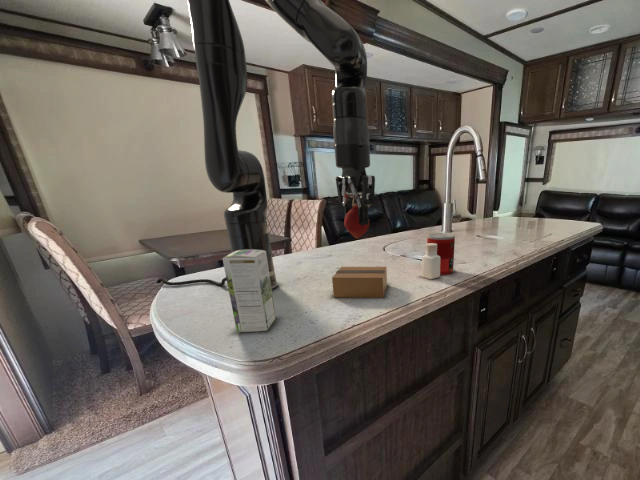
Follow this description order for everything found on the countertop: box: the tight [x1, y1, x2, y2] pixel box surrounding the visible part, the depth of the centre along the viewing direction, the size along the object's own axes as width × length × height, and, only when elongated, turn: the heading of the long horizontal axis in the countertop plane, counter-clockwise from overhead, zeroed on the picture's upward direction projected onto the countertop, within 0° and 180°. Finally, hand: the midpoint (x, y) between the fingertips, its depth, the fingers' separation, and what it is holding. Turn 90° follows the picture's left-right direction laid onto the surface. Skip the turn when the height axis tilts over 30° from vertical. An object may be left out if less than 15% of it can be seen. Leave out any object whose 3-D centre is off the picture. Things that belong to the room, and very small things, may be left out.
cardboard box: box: [331, 266, 388, 299], centre depth 79 cm, size 12×10×5 cm
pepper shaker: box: [421, 243, 441, 280], centre depth 89 cm, size 4×4×10 cm
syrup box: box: [222, 250, 277, 333], centre depth 59 cm, size 6×6×14 cm
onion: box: [343, 203, 371, 239], centre depth 74 cm, size 6×6×8 cm
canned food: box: [426, 232, 456, 276], centre depth 94 cm, size 8×8×11 cm
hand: (356, 223), depth 74 cm, fingers closed on onion, 6 cm apart
